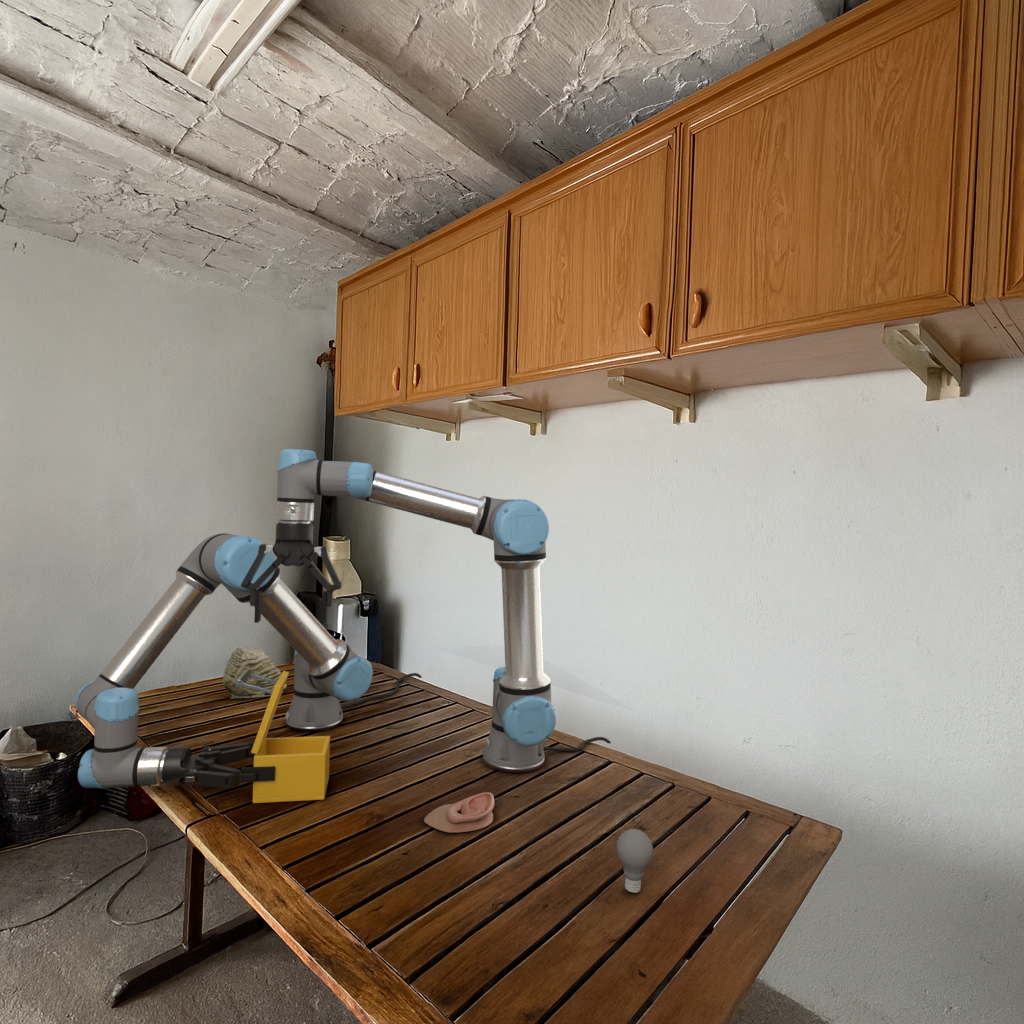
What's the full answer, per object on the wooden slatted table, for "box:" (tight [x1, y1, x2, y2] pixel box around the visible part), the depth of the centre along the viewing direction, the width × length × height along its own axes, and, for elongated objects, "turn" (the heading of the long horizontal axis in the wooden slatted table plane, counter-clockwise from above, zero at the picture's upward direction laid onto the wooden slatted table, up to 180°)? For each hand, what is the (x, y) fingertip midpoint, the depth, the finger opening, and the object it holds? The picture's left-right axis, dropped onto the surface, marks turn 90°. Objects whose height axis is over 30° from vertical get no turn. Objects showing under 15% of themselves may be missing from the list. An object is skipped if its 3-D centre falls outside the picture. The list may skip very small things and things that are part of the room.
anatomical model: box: [423, 791, 495, 834], centre depth 127 cm, size 13×4×12 cm
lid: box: [235, 670, 290, 754], centre depth 134 cm, size 15×10×9 cm
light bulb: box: [615, 828, 654, 894], centre depth 106 cm, size 6×6×10 cm
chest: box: [252, 735, 331, 804], centre depth 136 cm, size 14×10×10 cm
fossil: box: [222, 646, 288, 699], centre depth 198 cm, size 9×18×15 cm, turn 132°
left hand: (279, 762), depth 135 cm, fingers closed on chest, 10 cm apart
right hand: (291, 621), depth 135 cm, fingers open, 13 cm apart
